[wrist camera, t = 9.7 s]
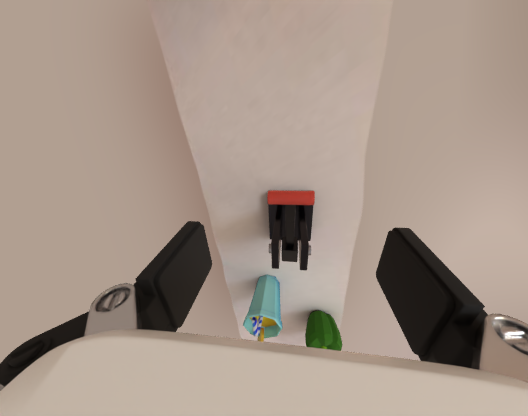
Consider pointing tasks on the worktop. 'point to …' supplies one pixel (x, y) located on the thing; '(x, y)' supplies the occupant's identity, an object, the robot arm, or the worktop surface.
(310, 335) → the bell pepper
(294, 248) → the lever
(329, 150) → the worktop surface
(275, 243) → the bracket
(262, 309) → the cup
